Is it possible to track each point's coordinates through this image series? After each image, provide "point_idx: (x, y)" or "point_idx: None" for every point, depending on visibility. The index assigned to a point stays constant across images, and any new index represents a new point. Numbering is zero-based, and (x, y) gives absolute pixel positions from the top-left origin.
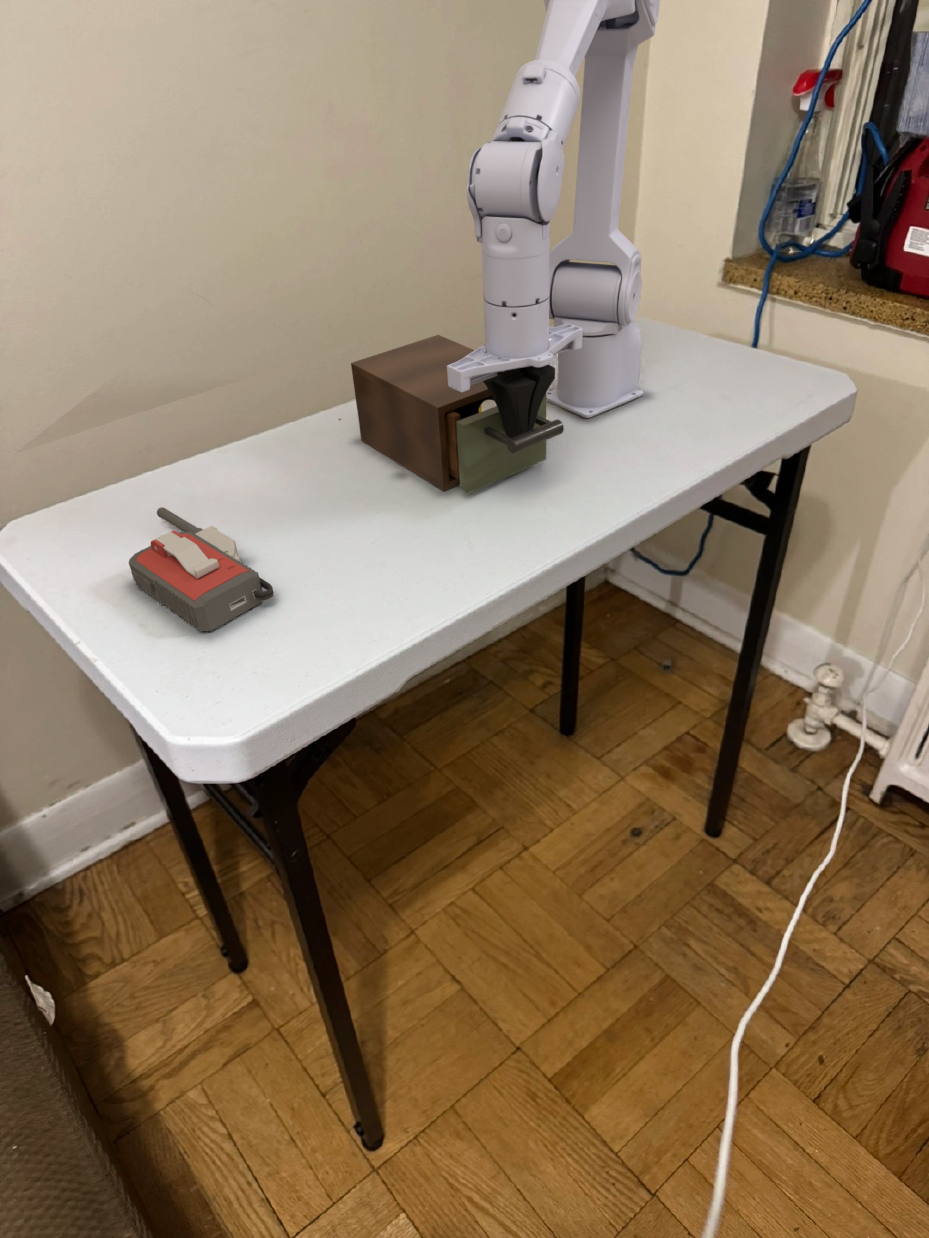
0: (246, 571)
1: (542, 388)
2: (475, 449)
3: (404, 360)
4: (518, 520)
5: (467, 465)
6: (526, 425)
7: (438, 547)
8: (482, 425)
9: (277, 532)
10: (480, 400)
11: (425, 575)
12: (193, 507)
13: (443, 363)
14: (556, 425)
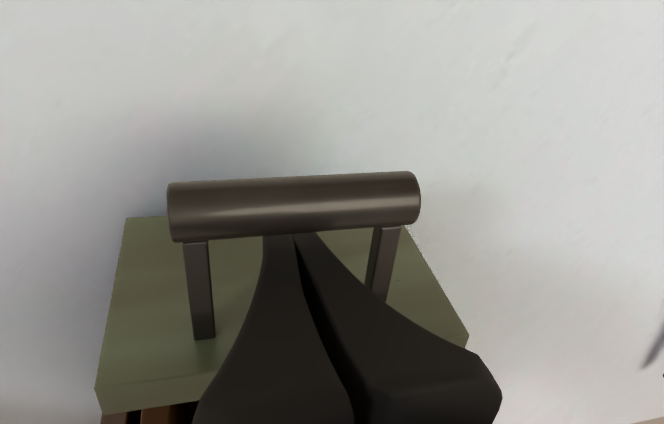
0: None
1: (277, 362)
2: (398, 273)
3: None
4: (368, 50)
5: (414, 246)
6: (308, 258)
7: (557, 87)
8: None
9: (622, 283)
10: None
11: (656, 19)
12: (609, 374)
13: None
14: (202, 207)
